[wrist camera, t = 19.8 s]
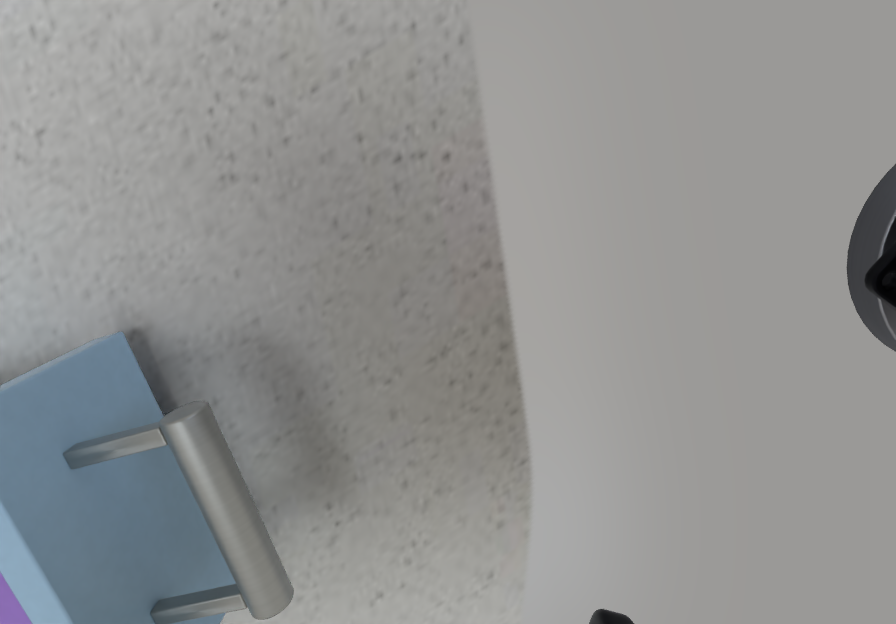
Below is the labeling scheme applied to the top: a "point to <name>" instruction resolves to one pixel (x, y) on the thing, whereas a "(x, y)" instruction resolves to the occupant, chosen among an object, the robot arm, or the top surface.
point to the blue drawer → (124, 502)
